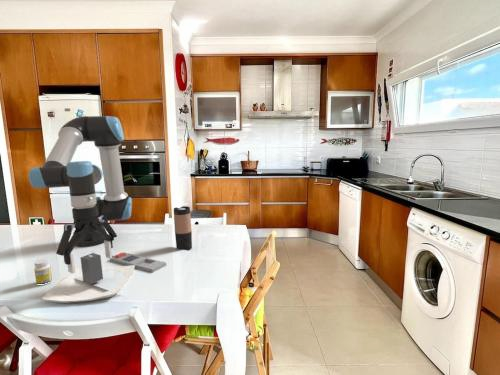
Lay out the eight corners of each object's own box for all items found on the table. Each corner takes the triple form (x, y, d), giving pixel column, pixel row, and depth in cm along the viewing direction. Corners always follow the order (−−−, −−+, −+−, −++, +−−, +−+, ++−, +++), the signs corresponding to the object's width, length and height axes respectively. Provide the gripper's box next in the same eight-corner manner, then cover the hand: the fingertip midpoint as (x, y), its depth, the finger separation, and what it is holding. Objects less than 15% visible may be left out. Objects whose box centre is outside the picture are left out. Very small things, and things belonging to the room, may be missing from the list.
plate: (116, 303, 90) (115, 295, 90) (35, 309, 88) (34, 301, 88) (139, 270, 114) (138, 263, 114) (76, 273, 113) (75, 267, 112)
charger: (83, 281, 100) (80, 257, 99) (95, 276, 104) (92, 252, 103) (90, 284, 98) (88, 259, 97) (103, 278, 102) (100, 254, 100)
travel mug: (188, 252, 131) (185, 210, 128) (173, 251, 132) (170, 209, 129) (194, 246, 138) (192, 206, 135) (180, 245, 140) (177, 206, 137)
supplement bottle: (42, 280, 107) (38, 259, 105) (55, 279, 107) (52, 258, 106) (33, 286, 102) (30, 264, 101) (47, 285, 102) (44, 263, 101)
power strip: (104, 261, 123) (103, 254, 122) (118, 255, 129) (117, 249, 128) (153, 274, 108) (152, 267, 108) (166, 267, 114) (166, 260, 114)
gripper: (50, 216, 84) (60, 282, 88) (123, 200, 106) (128, 253, 109) (37, 213, 88) (47, 277, 91) (110, 198, 109) (116, 250, 113)
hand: (91, 264), depth 100 cm, fingers open, 13 cm apart
